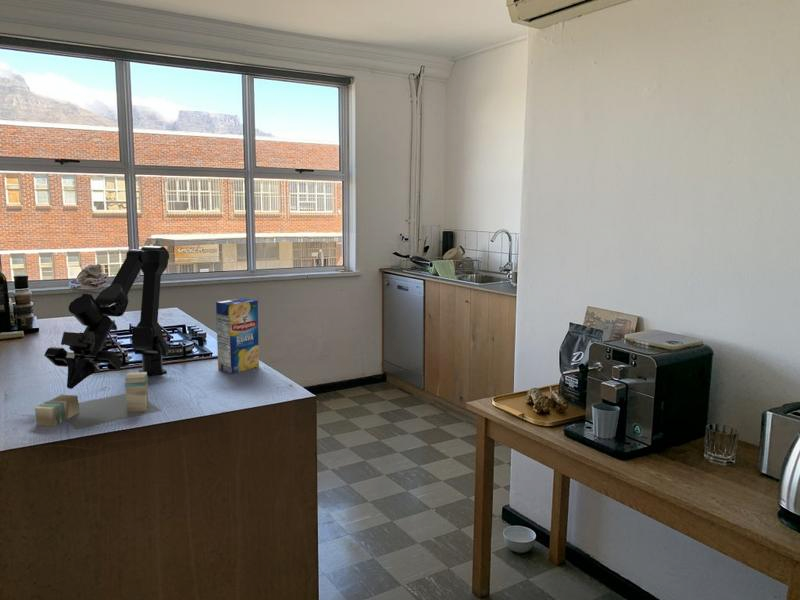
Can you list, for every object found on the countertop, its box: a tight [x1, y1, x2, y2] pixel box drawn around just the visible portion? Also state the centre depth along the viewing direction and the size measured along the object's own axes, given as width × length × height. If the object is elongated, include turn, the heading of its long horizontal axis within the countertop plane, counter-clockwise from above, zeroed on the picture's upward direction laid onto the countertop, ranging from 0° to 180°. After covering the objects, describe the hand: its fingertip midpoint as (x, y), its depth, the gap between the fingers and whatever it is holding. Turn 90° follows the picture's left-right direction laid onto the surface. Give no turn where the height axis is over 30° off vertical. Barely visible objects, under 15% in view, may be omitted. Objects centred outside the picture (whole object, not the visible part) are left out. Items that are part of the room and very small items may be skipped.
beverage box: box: [215, 297, 260, 375], centre depth 193 cm, size 7×11×22 cm, turn 142°
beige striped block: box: [34, 394, 80, 427], centre depth 148 cm, size 5×5×9 cm
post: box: [124, 371, 149, 412], centre depth 156 cm, size 5×5×9 cm
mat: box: [66, 393, 162, 430], centre depth 156 cm, size 19×20×1 cm
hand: (69, 388), depth 152 cm, fingers closed
